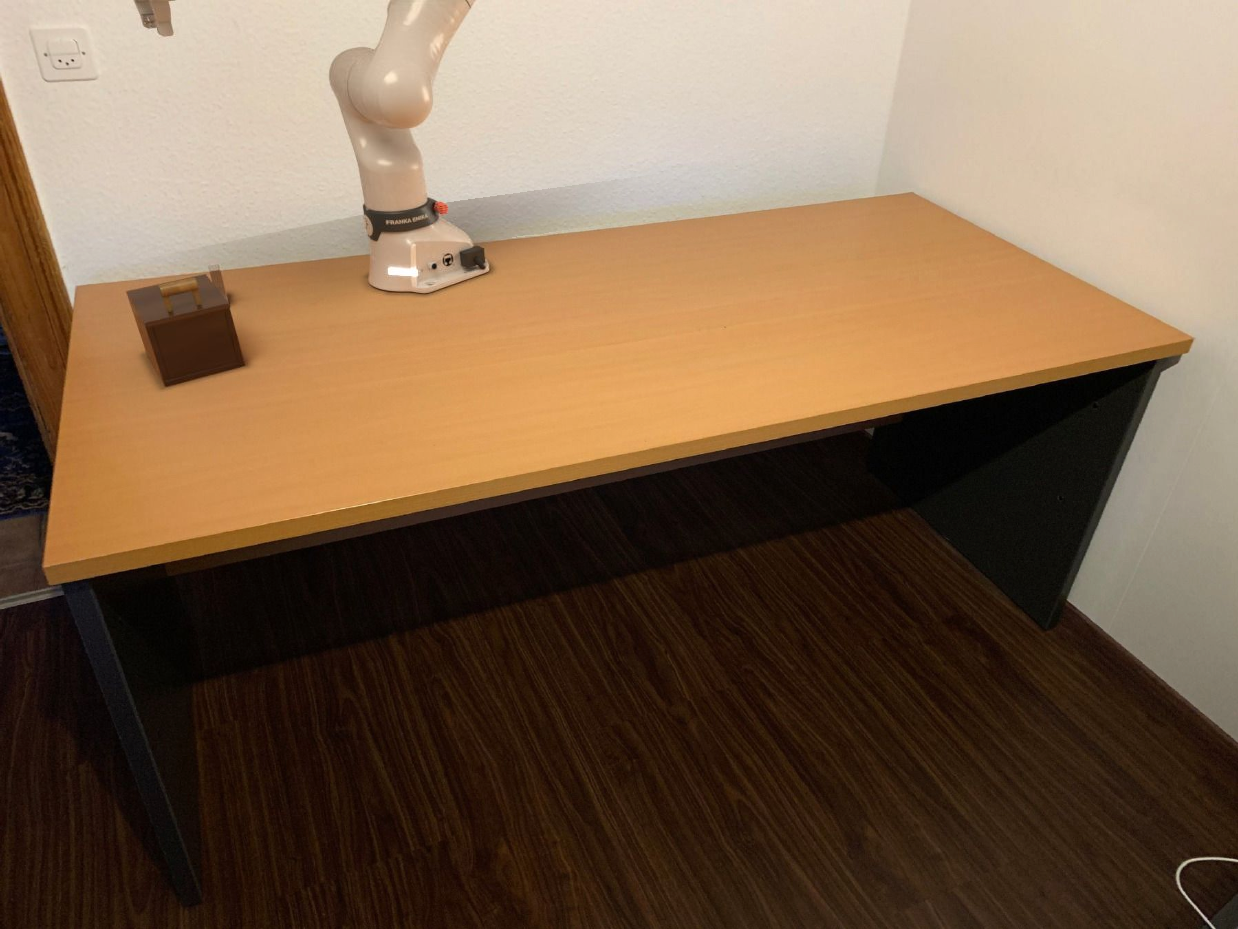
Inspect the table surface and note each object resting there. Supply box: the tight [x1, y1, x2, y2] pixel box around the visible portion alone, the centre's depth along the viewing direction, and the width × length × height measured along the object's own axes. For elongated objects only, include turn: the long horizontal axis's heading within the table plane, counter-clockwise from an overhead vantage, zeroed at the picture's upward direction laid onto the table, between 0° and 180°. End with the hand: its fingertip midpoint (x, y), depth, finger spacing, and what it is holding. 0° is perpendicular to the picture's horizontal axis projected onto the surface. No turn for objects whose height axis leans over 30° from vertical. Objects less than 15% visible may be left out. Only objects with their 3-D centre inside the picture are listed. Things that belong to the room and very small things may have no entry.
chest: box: [127, 297, 246, 388], centre depth 141 cm, size 13×12×10 cm
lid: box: [125, 273, 232, 327], centre depth 137 cm, size 14×12×5 cm
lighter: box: [207, 264, 230, 303], centre depth 160 cm, size 7×2×8 cm, turn 25°
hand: (158, 31), depth 130 cm, fingers open, 8 cm apart
